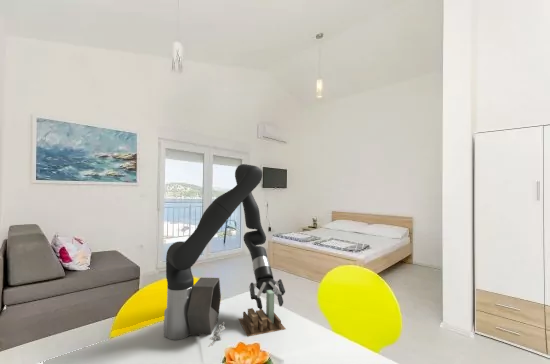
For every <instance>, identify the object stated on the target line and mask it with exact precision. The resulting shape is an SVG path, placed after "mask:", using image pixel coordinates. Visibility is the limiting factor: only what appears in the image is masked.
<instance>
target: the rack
mask: <svg viewBox="0 0 550 364" xmlns="http://www.w3.org/2000/svg"><path fill="white" fill-rule="evenodd" d="M259 310H261V311H262V313H263V314H264V315H265V317H266V318H267V328H266V329H263V323H262V322H261V320H260V319H259V317H258V329H257V330H254V325H253V323H252V322H251V320H250V319H249V317H248V313H246V311H243V312H242V317H241V318H238V321H239V324H241V327H242V329H243V331H244V332H245V334H246V336H247V337H253V336H257V335H263V334H268V333H273V332H279V331H283V330H287V329H286V327H285V326H284V325H283V324H282V320H281V319H280V318H279V316H277V314H276V313H275V312H274V324H272V321H271V320H270V319H269V317H268V316H267V315H266V311H264V309H263V308H262V309H259Z"/></svg>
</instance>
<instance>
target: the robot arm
mask: <svg viewBox="0 0 550 364" xmlns="http://www.w3.org/2000/svg"><path fill="white" fill-rule="evenodd" d="M234 177H235V182H236V185H235V186H234V187H232V189H230V190H227V191H226V192H224V193H222V194H220V195H218V196H217V197H216V198H214V200H213V201H212V202H211V203H210V205H209V206H208V207H207V208H206V209H205V210H204V212H203V214H202V216H201V217H200V220H199V222H198V225H197V226H196V228H195V230H194V231H193V232H192V233H191V234H190V236H189V237H187V239H186V240H185V241H176V242H173V243H172V244H171V245H170V246H169V247H168V248H167V252H166V257H165V260H166V261H165V275H166V276H165V277H166V283H167V289H166V290H167V291H166V293H167V295H166V308H165V309H164V319H163V322H164V323H163V324H164V325H163V337H164V338H168V339H170V340H175V341H177V340H182V339H186V338H187V337H189V336H191V335H190V330H189V323H188V316H187V314H188V309H189V304H190V298H191V293H192V288H193V286H194V284H195V283H194V281H195V279H194V276H193V272H192V267H193V266H194V265H195V264H196V262H197V261H198V260H199V258H200V256H201V255H202V253H203V252H204V250H205V249H206V247H207V245H209V243H210V242H211V240H212V239H213V238H214V237H215V235H216V234H217V233H218V232H219V231H220V229H221V228H222V227H223V226H224V224H226V222H227V221H228V220H229V218H230V217H231V216H232V214H233V213H234V212H235V211H236V209H237V208H238V207H239V206H240V205H241V204H242V206H243V214H244V221H245V227H246V228H247V229H250V230H251V231H247V232H245V233H244V235H243V242H244V244H245V246H246V248H247V250H248V251H249V254H250V257H251V261H252V271H253V274H254V278H255V283H254V282H250V284H249V287H248V288H249V293H250V294H249V295H250V299H251V300H255V301H256V306H257V309H258V310H260V309H262V310H263V303H262V299H261V294H266V291H267V290H272V291H273V292H274V296H276V297H277V302H278V305H279V307H282V306H283V304H284V299H283V296H284V295H285V294H286V288H285V286H284V283H283V281H282V279H280V278H279V279H277V280H275V279H274V275H273V271H272V267H271V263H270V261H269V258H268V253H267V250H266V248H265V247H263V246H262V245H264V244H265V243H266V241H267V236H266V233H265V231H264V229H263V226H262V222H261V214H260V213H261V212H260V208H259V206H258V203H257V201H256V199H255V197H254V195H253V191H254V190H255V189H256V188H257V187H258V186H259V184H260V183H261V181H262V179H263V171H262V169H261V168H260V167H259V166H257V165H252V164H246V163H243V164H242V163H241V164H239V165H238V166H236V168H235V170H234ZM255 289H258V293H257V294H256V292H255Z"/></svg>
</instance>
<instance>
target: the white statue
mask: <svg viewBox="0 0 550 364" xmlns="http://www.w3.org/2000/svg"><path fill="white" fill-rule="evenodd" d="M225 324H226V323H225V321H222V323H220V324H218V326H217V328H216V330H215V331H214V332H212V335H213V336H211V337H210V339H209V340H210V341H211V340H213V341H212V342H210V343H209V345H208V347H209V348H210V347H213V346H214V344H215V342H216V341H221V340H222V336H221V335H222V334H223V333H224V332H223V331H224V330H225V329H226V327H225Z"/></svg>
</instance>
